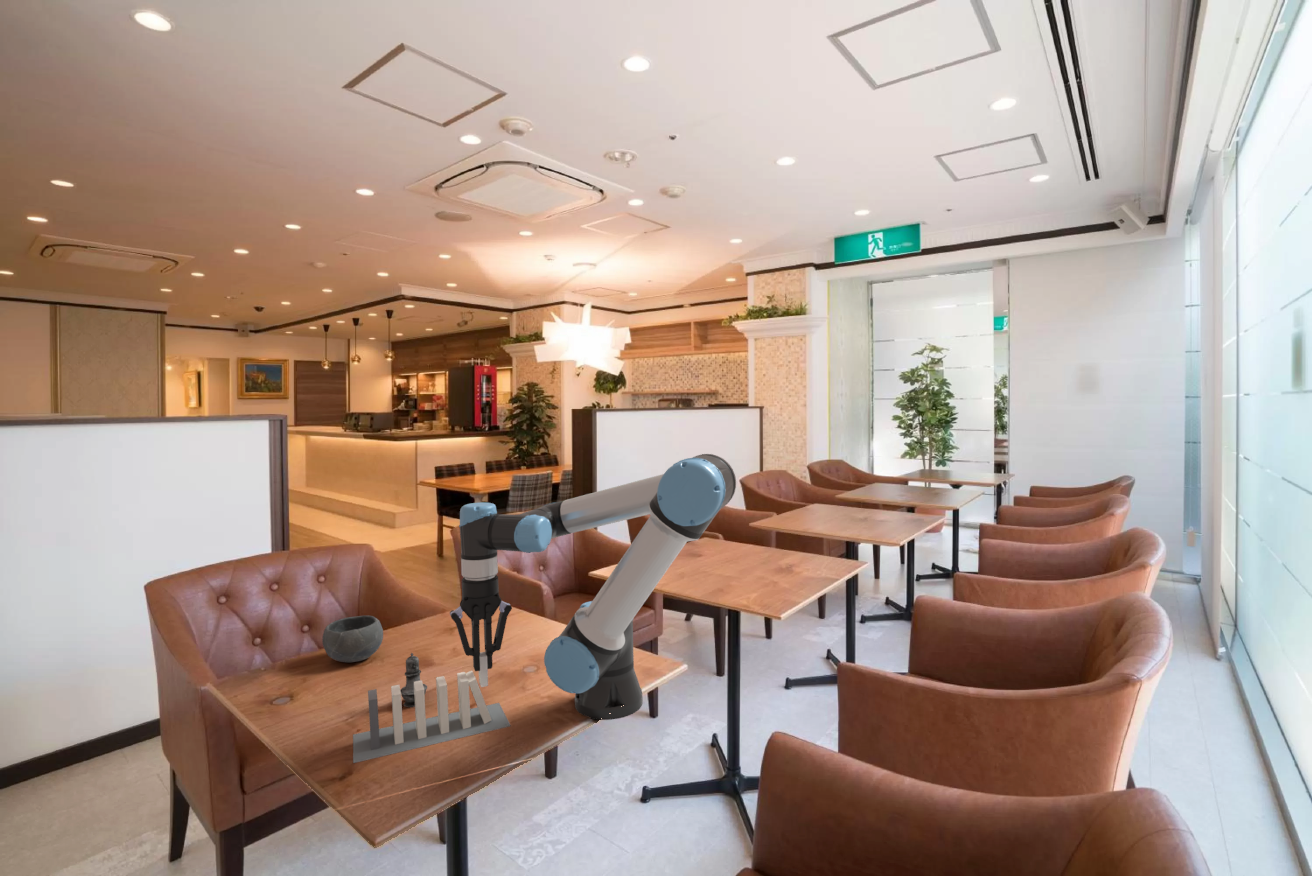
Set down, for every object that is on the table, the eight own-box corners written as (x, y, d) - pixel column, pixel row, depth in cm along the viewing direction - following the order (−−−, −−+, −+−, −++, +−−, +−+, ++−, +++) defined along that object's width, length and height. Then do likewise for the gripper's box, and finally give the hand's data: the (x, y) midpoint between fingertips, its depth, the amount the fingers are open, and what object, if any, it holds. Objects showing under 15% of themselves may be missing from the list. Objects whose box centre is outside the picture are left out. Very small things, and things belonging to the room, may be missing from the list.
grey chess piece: (401, 712, 145) (398, 659, 144) (400, 701, 150) (397, 650, 150) (429, 706, 147) (426, 654, 147) (426, 696, 153) (424, 646, 152)
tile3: (446, 721, 139) (443, 676, 139) (449, 732, 135) (447, 685, 134) (438, 723, 139) (436, 677, 138) (441, 734, 134) (438, 686, 133)
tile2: (467, 717, 141) (464, 671, 140) (471, 727, 137) (468, 680, 136) (459, 718, 140) (457, 673, 140) (463, 729, 136) (460, 682, 135)
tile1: (487, 710, 143) (472, 670, 141) (491, 720, 138) (476, 678, 137) (480, 714, 142) (464, 673, 140) (484, 724, 138) (468, 682, 136)
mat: (499, 704, 147) (499, 702, 147) (510, 727, 137) (510, 726, 137) (353, 736, 135) (353, 734, 135) (353, 765, 124) (353, 763, 124)
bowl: (389, 660, 175) (388, 624, 174) (328, 675, 166) (326, 636, 166) (378, 644, 187) (376, 610, 186) (320, 657, 179) (318, 621, 178)
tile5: (401, 731, 136) (399, 684, 135) (403, 742, 131) (401, 694, 130) (393, 733, 135) (391, 686, 134) (395, 744, 130) (392, 695, 130)
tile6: (379, 736, 134) (376, 689, 133) (379, 748, 129) (377, 698, 129) (370, 738, 133) (367, 690, 132) (371, 750, 128) (368, 700, 128)
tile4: (424, 726, 137) (421, 680, 137) (426, 737, 133) (424, 689, 132) (416, 728, 137) (413, 681, 136) (418, 739, 132) (415, 691, 132)
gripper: (507, 568, 145) (510, 671, 146) (445, 575, 139) (449, 683, 141) (514, 576, 138) (517, 685, 139) (450, 584, 133) (454, 697, 134)
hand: (483, 684), depth 140 cm, fingers closed
